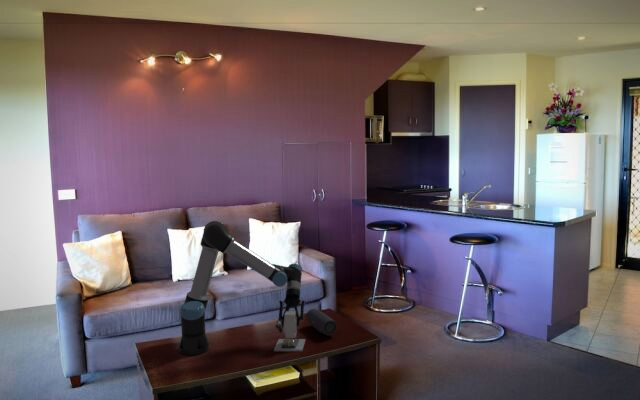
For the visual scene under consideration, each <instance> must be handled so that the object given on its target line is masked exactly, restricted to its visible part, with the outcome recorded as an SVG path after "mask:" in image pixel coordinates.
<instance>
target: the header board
mask: <svg viewBox="0 0 640 400" xmlns="http://www.w3.org/2000/svg"><path fill="white" fill-rule="evenodd" d="M283 340H285V346H287V340H290V346H292V340H294V346H296V348H281V347H282V345H283ZM305 343H306V338H278V340H277V342H276V344H275V346H274V349H273V352H303V350H304V348H305V347H304V346H305Z"/></svg>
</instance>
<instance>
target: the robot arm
mask: <svg viewBox="0 0 640 400" xmlns="http://www.w3.org/2000/svg"><path fill="white" fill-rule="evenodd" d="M200 246H201V251H200V254H199V255H200V256H199V259H198V263H197V267H196V271H195V274H194V276H193V281H192V285H191V289H190V291H188V292H187V293H186V296H185V300H184V302H183V304H182V305H181V307H180V311H179V313H180V324H181V325H180V326H181V328H180V329H181V338H180V342H179V345H178V352H179V354H182V355H185V356H196V355H200V354H203V353H206V352H208V351H209V350H210V348H211V346H210V344H211V343H210V341H209V339H208V336H207V334H206V311H207V310H206V309H207V306H208V303H209V299H210V298H209V296H208V291H209V287H210V285H211V281H212V278H213V273H214V269H215V266H216V262H217V259H218V255H219V252H220V253H222V254H227V255H229V256H231V257H232V258H233V259H236V260H237V261H238V262H240V263H241V264H243V265H244V266H246V267H248V268H250V269H251V270H253V271H255V273H257V274H259V275H261V276H263V277H264V278H266V279H267V280H269V281H270V282H272V284H273V285H275V286H276V287H280V288H281V287H283V286H285V285H286V287H285V290H286V291H285V298H284V300H279V311H278V318H279V319H280V320H282V326H283V327H282V328H283V331H282V332H283V334H285V313H286V311H290V309H291V308H292V309H294V311H296V319H295V329H294V331H295V333H297V334H298V332H297V330H298V327H300V321H303V320H304V311H305V309H304V308H305V305H306V302H305V300H301V286H302V274H303V273H302V271H303V270H302V266H301V265H300V264H299V263H291V264H289V265H288V266H284V265H279V264H276V263H271V262H270V261H268V260H266V259H264V258H263V257H261V256H260V255H258V254H257V253H256V252H253V251H252V250H250V249H249V248H247V247H246V246H244V245H243V244H241V243H239V242H238V241H237V240H235V237H234V236H232V235H231V234H230V233H228V230H227V227H226V226H225V224H223V223H222V222H221V221H218V220H212V221H210V222H208V223H207V224H205V225H204V227H203V233H202V237H201V240H200ZM299 304H300V314H299V311H298V306H299ZM284 305H285V309H284ZM283 311H284V312H283ZM282 316H283V317H282Z"/></svg>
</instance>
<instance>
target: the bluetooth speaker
mask: <svg viewBox="0 0 640 400" xmlns="http://www.w3.org/2000/svg"><path fill="white" fill-rule="evenodd" d="M305 319H306V320H307V322H308V324H310V325H311V326H312V327H313V328H315V330H316V331H318V332H319V333H320V334H322V335H326V336H333V335H334V334H335V333H336V332H337V329H338V326H337V325H338V324H337V322H336V321H335V320H334V319H333V318H331V317H330V316H329V315H327V314H326V313H325V312H322V311H320V310H318V309H316V308H311V309H309V310H308V311H307V313H306V316H305Z"/></svg>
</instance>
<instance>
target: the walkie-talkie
mask: <svg viewBox="0 0 640 400" xmlns="http://www.w3.org/2000/svg"><path fill="white" fill-rule="evenodd" d="M282 317H283V315H282ZM276 325H277V328H280V330H281V331H282V332H283V326H282V320H280V319H279V317H278V319H277V324H276Z"/></svg>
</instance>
